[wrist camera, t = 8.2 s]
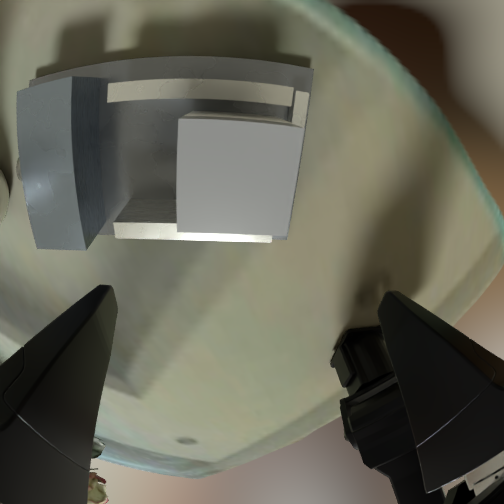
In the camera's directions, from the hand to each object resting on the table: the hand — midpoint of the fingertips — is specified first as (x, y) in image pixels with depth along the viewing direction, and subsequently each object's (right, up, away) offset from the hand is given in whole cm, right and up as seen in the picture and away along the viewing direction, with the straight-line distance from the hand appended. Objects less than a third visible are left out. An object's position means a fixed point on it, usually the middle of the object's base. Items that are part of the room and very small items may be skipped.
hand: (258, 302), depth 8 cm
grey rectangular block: (-1, +8, +8) cm, 11 cm away
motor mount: (-6, +8, +8) cm, 13 cm away
